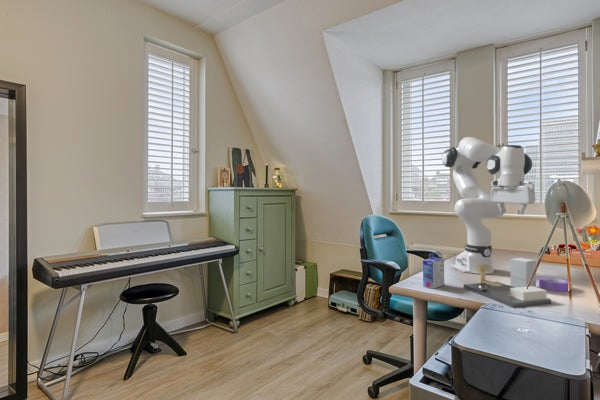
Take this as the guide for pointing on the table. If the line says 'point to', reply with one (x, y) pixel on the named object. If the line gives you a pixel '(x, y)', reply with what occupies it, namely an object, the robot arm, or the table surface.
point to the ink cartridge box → (433, 272)
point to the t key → (482, 269)
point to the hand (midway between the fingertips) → (511, 213)
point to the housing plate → (504, 295)
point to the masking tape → (553, 284)
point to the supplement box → (522, 272)
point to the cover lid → (528, 293)
